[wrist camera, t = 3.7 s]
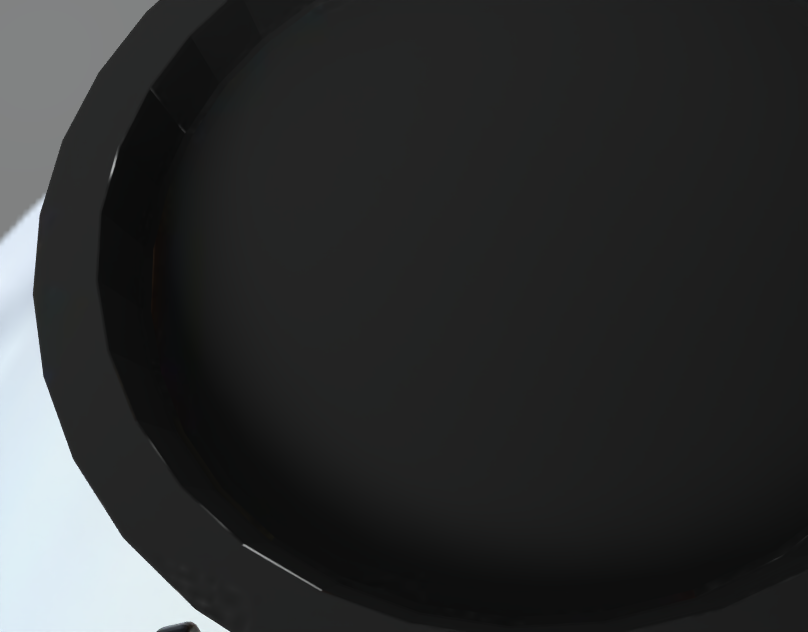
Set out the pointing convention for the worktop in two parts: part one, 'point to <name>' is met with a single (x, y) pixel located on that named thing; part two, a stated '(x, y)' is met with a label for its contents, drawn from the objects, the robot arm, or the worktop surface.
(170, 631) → the robot arm
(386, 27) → the coffee cup
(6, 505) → the worktop surface
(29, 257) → the worktop surface
